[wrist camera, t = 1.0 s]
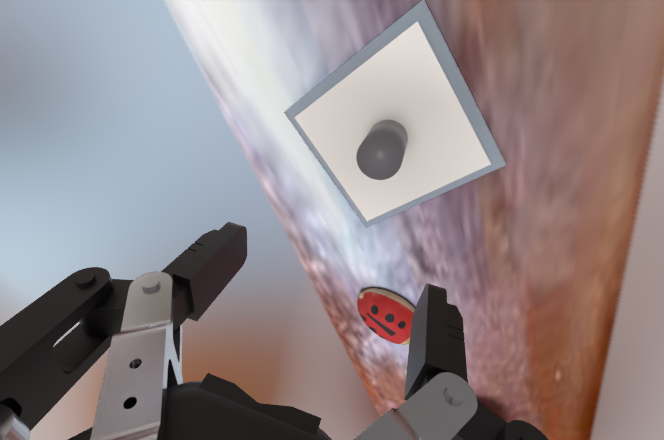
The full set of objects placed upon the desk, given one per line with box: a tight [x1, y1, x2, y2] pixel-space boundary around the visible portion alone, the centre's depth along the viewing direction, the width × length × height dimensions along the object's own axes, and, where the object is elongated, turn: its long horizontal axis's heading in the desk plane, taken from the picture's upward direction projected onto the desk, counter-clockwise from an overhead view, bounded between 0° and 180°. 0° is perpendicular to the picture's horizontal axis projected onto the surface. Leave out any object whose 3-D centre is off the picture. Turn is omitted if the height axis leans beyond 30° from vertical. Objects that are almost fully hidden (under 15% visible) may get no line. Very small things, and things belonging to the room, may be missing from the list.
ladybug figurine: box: [357, 288, 415, 345], centre depth 40 cm, size 7×10×4 cm
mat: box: [284, 0, 506, 227], centre depth 29 cm, size 15×15×1 cm
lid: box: [294, 21, 491, 221], centre depth 26 cm, size 13×13×6 cm
